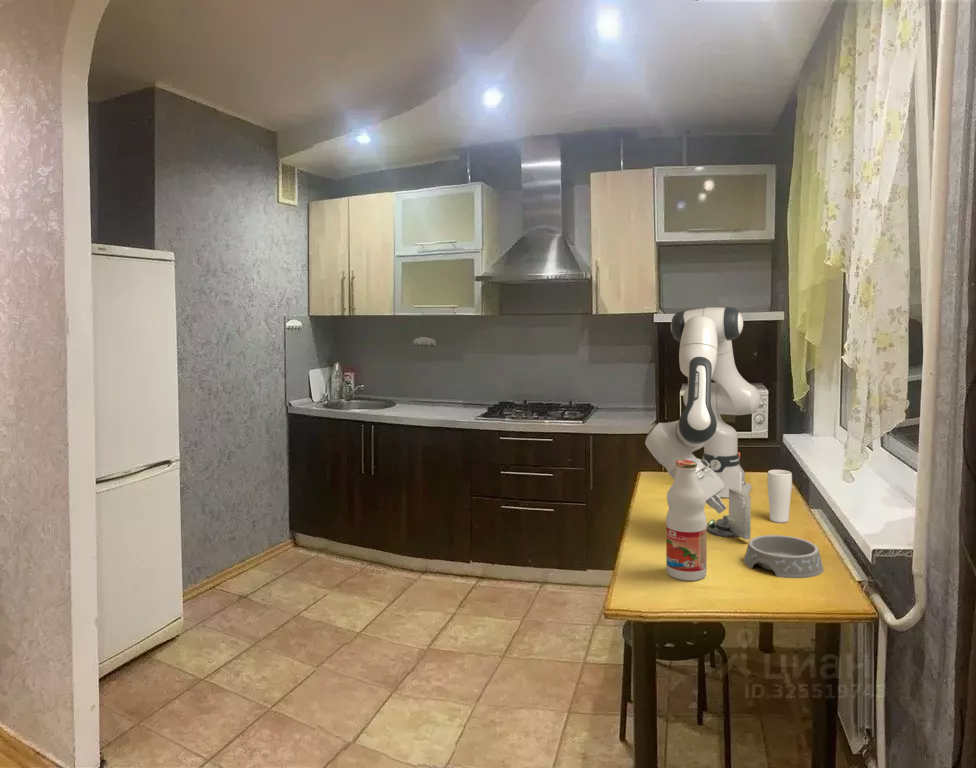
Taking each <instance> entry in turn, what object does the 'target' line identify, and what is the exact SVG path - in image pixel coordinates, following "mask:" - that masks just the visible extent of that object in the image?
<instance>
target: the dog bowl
mask: <svg viewBox="0 0 976 768" xmlns="http://www.w3.org/2000/svg"><path fill="white" fill-rule="evenodd" d="M743 562H744V564H745V565H746V566H747V567H748V568H750V569H753V567H754V565H756V564H757V565H758V566H760V567H762V568H764V569H766V570H770V571H773V573H774V574H775V576H776V577H777V578H783V579H785V578H786V579H806V578H807V579H809V578H814V577H816V576H820V575H822V574H823V572H824V566H823V562H822V558H821V554H820V550H819V547H818V546H817V545H816V544H814V543H813V542H811V541H809V540H807V539H803V538H799V537H795V536H790V535H782V534H781V535H779V534H766V535H760V536H756V537H752V538H750V539H749V541H748V544H747V548H746V552H745V556H744V560H743Z"/></svg>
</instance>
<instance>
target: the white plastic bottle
mask: <svg viewBox="0 0 976 768" xmlns="http://www.w3.org/2000/svg"><path fill="white" fill-rule="evenodd" d="M676 469H677V473H676V477H675V480H674V479H673V480H674V481H673V483H672V484H671V486H670V487H669V489H668V490H667V493H666V501H667V505H668V511H667V514H666V518H665V519H666V521H665V523H666V524H665V526H666V528H665V530H666V531H665V532H666V533H665V535H666V536H665V537H666V539H665V540H666V541H665V542H666V546H665V547H666V554H665V555H666V567H665V568H666V572H667V575H668V576H669V577H671V578H673V579H676V580H680V581H687V582H689V581H691V582H692V581H695V582H696V581H700V580H702V579H705V578H706V575H707V569H708V568H707V565H708V564H707V555H708V554H707V549H708V547H707V545H708V544H707V539H708V538H707V536H708V535H707V532H708V531H707V526H708V525H707V523H708V522H707V516H706V513H705V507H706V504H707V503H706V495H705V492H704V491H703V489H702V488H701V486H700V485H699V482H698V479H697V476H696V469H697V462H696V461H693V460H678V461H676Z"/></svg>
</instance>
